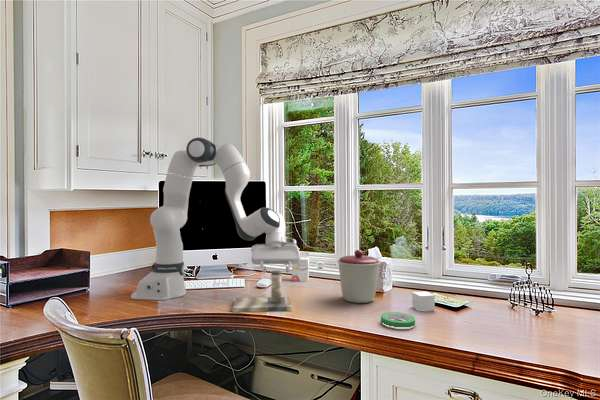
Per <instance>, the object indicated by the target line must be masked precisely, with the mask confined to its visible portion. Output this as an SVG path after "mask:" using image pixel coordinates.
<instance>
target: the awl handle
mask: <svg viewBox="0 0 600 400" xmlns="http://www.w3.org/2000/svg"><path fill="white" fill-rule="evenodd" d="M282 273H283V272H282V270H272V271H271V295H270V296H271V302H272V303H281V302H282V289H283V288H282V287H283V286H282V284H283V283H282V279H283V277H282Z"/></svg>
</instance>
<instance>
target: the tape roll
mask: <svg viewBox="0 0 600 400" xmlns="http://www.w3.org/2000/svg"><path fill="white" fill-rule="evenodd" d="M391 319H403V320H406V321H399V320H391ZM381 322H382V323H384V324H386V325H389V326H394V327H411V326H414V325H415V326H416V318H415V317H414V316H413V315H412V314H409V313H405V312H400V311H399V312H398V311H397V312H396V311H389V312H384V313H382V314H381V315H380V323H381Z"/></svg>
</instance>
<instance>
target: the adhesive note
mask: <svg viewBox="0 0 600 400" xmlns="http://www.w3.org/2000/svg"><path fill="white" fill-rule="evenodd" d="M411 293H412V295H411V298H412V299H411V300H412V302H411V305H412V306H413V307H415V308H417V309H418V310H420V311H422V310H435V311H436V307H435V305H436V304H435V302H436V298H435V297H436V295H435V294H433V293H431V292H428V291H412V292H411ZM412 306H411V307H412ZM413 307H412V308H413ZM415 308H414V309H415ZM418 310H417V311H418ZM420 311H419V312H420Z"/></svg>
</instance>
